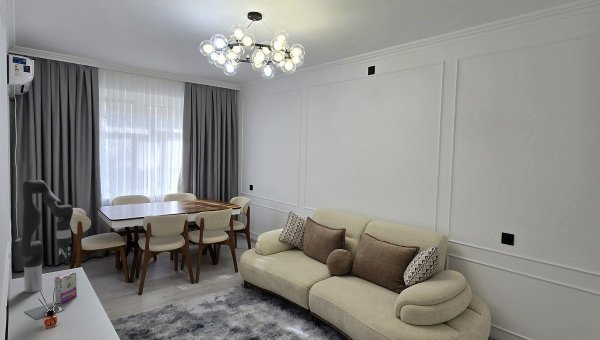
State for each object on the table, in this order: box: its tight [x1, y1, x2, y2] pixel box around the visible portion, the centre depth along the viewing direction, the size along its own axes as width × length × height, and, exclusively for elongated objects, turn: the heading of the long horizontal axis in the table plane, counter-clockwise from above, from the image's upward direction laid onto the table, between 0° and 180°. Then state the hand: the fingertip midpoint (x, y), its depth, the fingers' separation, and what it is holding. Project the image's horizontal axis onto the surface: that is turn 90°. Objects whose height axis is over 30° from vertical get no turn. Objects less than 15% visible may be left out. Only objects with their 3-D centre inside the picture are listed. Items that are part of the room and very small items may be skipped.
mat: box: [24, 302, 65, 321], centre depth 194 cm, size 16×14×1 cm
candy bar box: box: [54, 271, 78, 304], centre depth 209 cm, size 11×5×16 cm, turn 168°
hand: (64, 261), depth 208 cm, fingers open, 8 cm apart
